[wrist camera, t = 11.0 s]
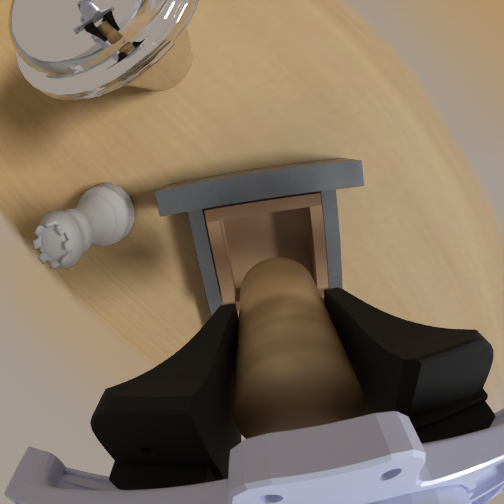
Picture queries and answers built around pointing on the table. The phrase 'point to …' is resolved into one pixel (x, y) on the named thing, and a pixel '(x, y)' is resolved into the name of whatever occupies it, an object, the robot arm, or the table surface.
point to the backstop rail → (255, 188)
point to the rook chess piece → (84, 225)
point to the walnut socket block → (267, 238)
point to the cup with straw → (101, 44)
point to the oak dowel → (289, 355)
